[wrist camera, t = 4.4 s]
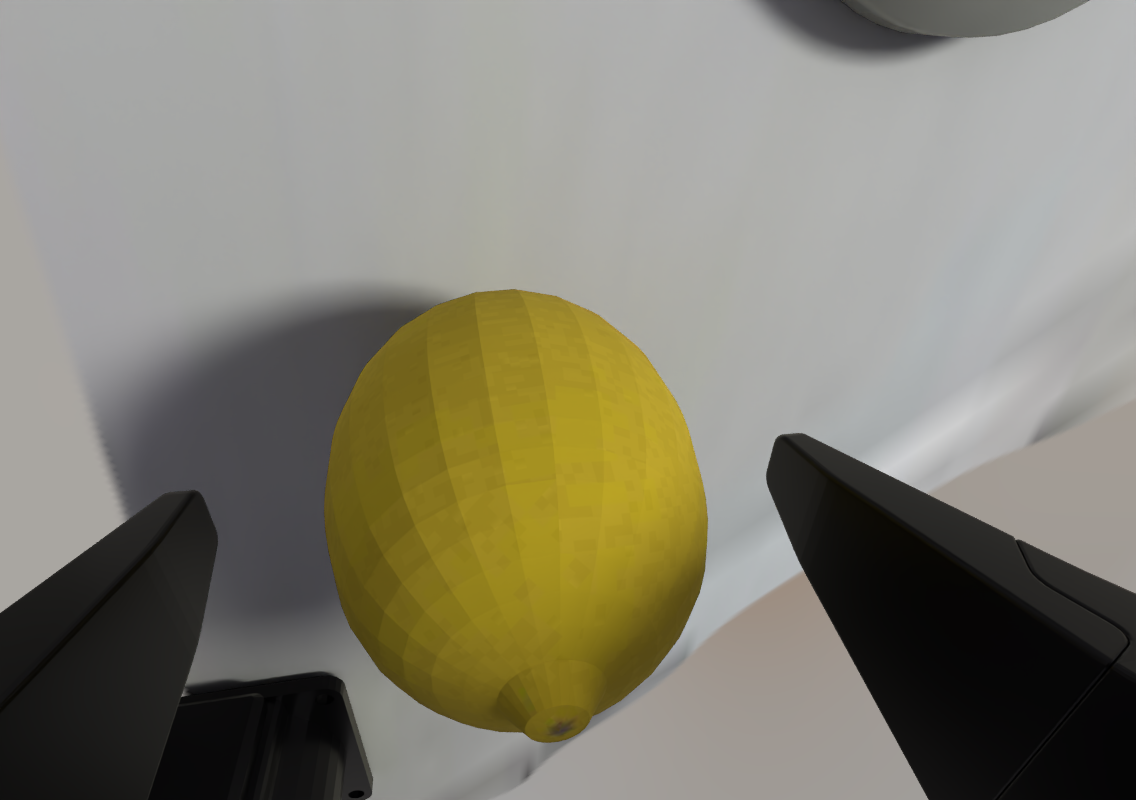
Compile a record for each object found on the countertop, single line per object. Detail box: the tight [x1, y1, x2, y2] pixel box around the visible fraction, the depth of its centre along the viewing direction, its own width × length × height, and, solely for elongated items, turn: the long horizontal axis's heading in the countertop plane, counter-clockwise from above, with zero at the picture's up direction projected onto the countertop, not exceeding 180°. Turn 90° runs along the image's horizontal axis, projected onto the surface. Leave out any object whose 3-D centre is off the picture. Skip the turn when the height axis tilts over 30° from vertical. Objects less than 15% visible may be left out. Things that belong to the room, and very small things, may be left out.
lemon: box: [324, 289, 708, 743], centre depth 9 cm, size 6×6×8 cm
